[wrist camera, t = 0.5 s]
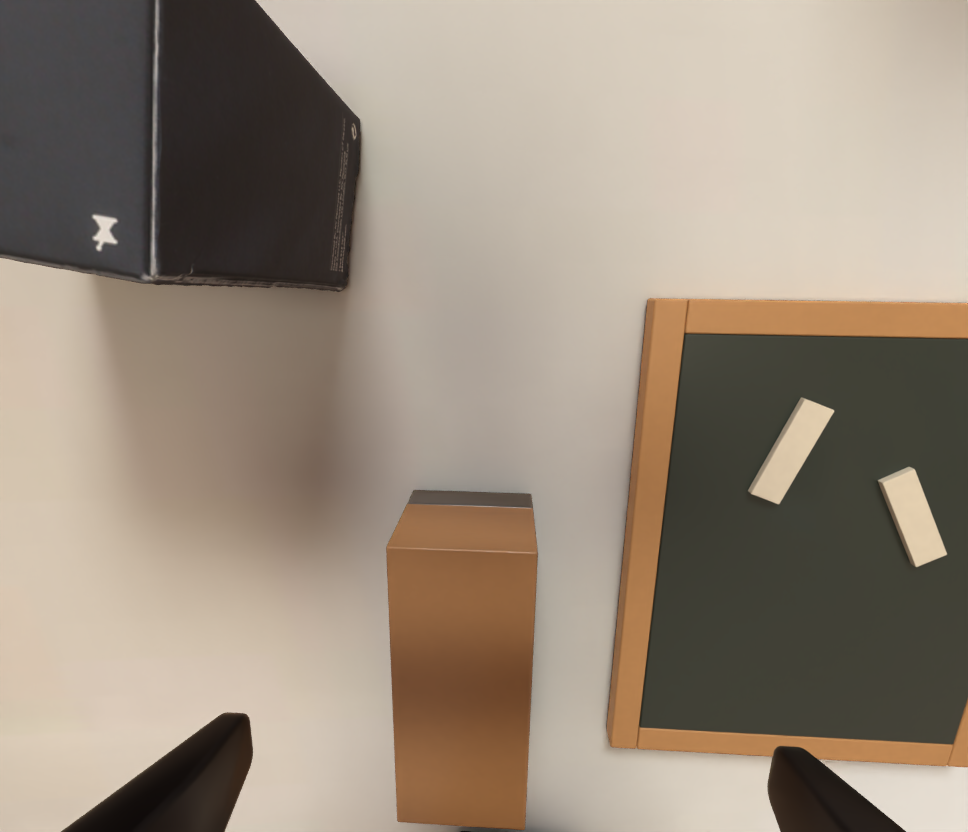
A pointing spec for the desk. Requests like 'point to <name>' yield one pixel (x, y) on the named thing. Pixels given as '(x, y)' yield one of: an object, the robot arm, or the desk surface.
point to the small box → (171, 146)
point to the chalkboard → (795, 535)
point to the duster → (462, 656)
